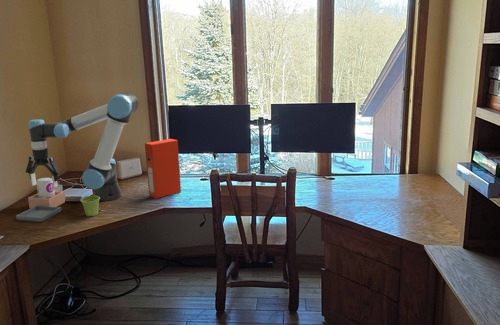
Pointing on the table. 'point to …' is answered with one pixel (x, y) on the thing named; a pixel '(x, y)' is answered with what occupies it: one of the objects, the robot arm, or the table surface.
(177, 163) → the file binder
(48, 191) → the supplement can
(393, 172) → the table surface
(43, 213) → the tray
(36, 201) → the holder
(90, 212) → the plant pot
